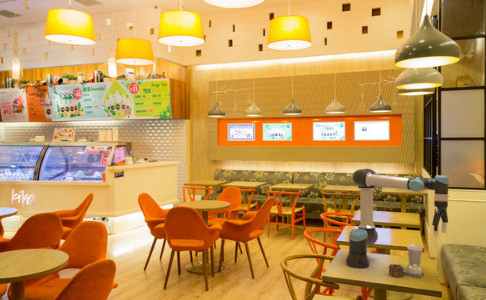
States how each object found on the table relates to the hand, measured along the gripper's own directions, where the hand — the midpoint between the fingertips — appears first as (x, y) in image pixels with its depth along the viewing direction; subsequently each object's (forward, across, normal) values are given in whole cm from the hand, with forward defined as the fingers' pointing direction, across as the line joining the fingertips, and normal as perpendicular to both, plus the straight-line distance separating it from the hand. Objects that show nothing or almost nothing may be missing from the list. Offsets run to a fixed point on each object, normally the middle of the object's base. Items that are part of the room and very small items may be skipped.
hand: (439, 234), depth 246 cm
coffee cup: (+27, +6, +17) cm, 33 cm away
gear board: (+27, -8, +16) cm, 32 cm away
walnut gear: (+27, -18, +20) cm, 38 cm away
